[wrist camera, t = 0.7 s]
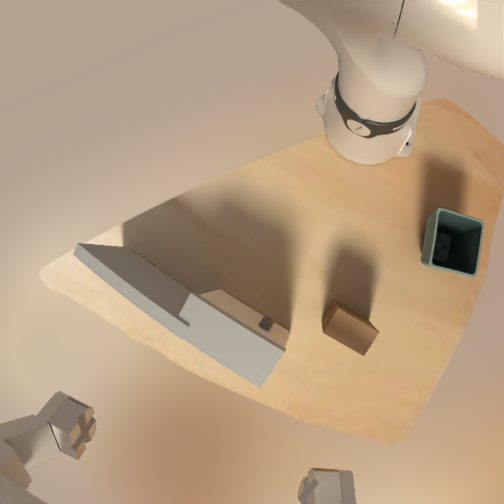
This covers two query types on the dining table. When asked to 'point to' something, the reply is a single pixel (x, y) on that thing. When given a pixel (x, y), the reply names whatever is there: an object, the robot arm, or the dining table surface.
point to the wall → (184, 311)
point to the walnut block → (349, 328)
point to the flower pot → (453, 242)
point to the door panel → (248, 316)
